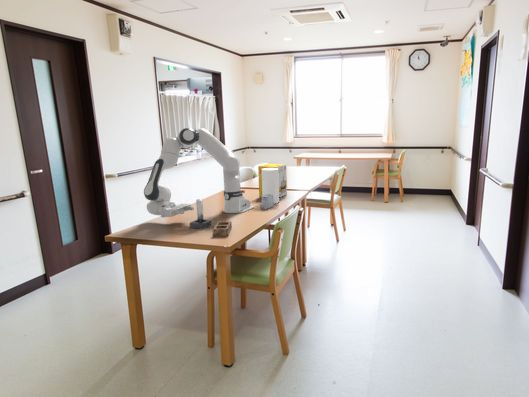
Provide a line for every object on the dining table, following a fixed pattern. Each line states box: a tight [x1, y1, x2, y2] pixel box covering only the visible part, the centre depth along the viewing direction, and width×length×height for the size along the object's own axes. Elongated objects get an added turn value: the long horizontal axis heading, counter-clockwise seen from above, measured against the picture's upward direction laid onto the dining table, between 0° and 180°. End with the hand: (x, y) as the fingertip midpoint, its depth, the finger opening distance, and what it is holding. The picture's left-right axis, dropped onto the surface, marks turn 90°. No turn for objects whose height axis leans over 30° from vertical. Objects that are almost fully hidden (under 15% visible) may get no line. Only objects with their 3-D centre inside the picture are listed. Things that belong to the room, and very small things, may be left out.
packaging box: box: [257, 163, 288, 198], centre depth 301 cm, size 16×16×25 cm
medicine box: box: [260, 195, 274, 210], centre depth 265 cm, size 8×4×9 cm, turn 141°
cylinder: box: [262, 168, 280, 204], centre depth 280 cm, size 12×12×25 cm
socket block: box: [189, 218, 213, 230], centre depth 225 cm, size 9×9×3 cm
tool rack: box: [212, 221, 233, 237], centre depth 211 cm, size 8×15×4 cm, turn 178°
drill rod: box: [195, 198, 204, 223], centre depth 223 cm, size 4×4×16 cm
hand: (188, 210), depth 226 cm, fingers open, 8 cm apart
